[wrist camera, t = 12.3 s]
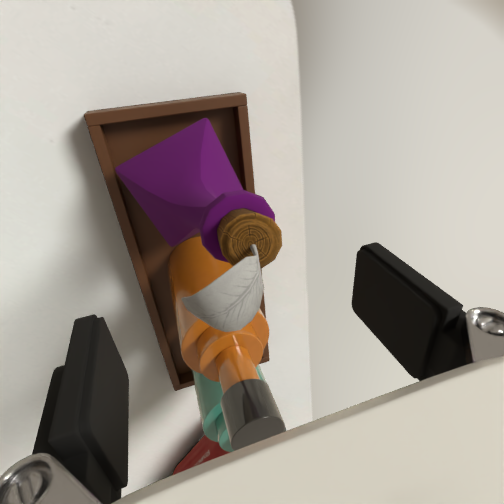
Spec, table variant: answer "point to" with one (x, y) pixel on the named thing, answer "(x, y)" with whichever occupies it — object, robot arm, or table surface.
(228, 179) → the perfume bottle
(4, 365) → the table surface
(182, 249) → the amber bottle
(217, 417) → the sea-green bottle
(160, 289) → the tray
